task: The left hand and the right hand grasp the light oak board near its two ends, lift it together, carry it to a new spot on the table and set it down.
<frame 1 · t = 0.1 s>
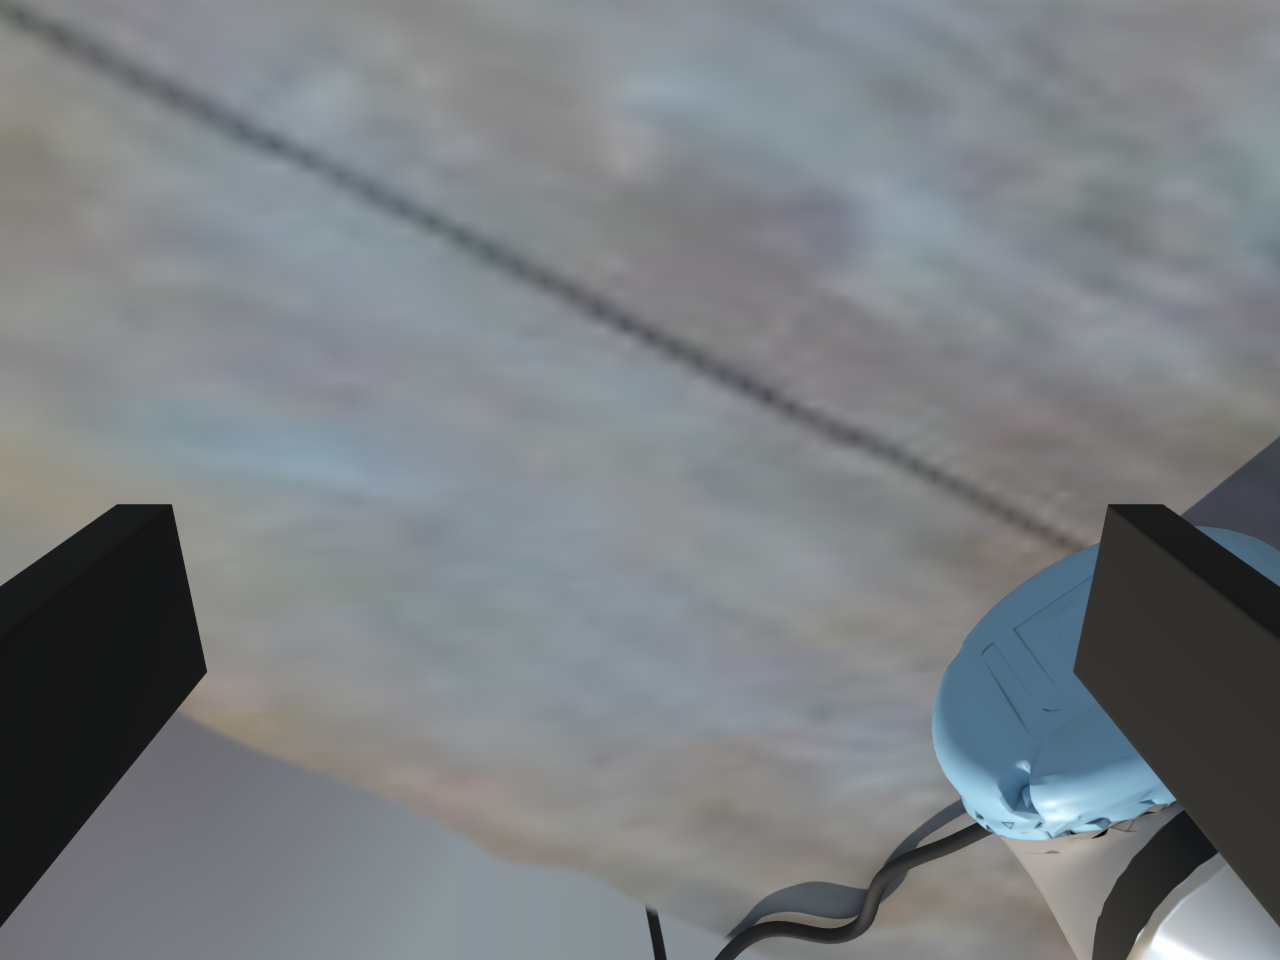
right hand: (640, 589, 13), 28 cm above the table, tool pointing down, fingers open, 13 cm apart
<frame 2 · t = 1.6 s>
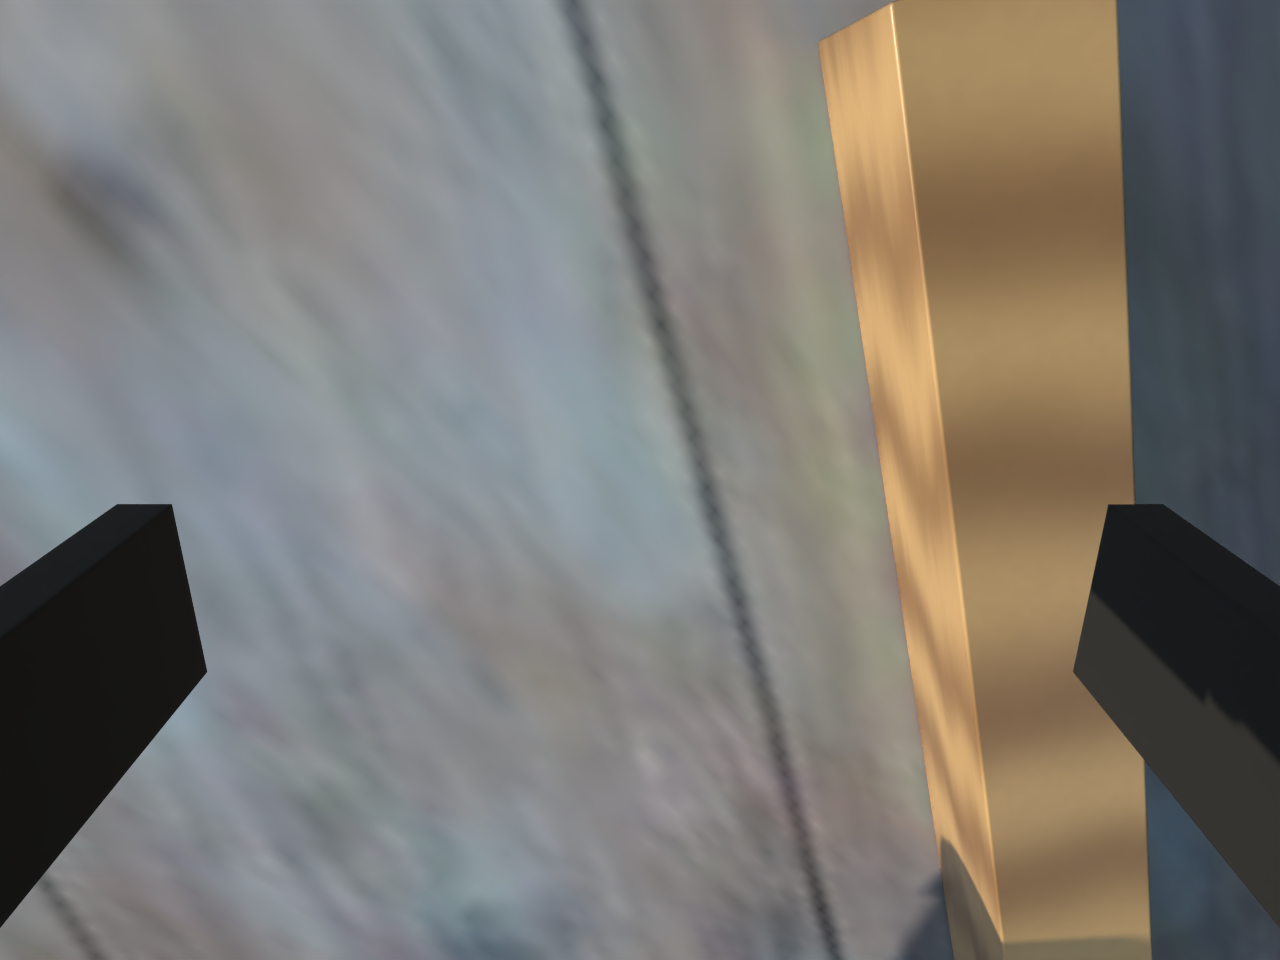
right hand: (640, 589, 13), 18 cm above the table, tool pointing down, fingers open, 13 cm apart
board: (994, 846, 38), on the table
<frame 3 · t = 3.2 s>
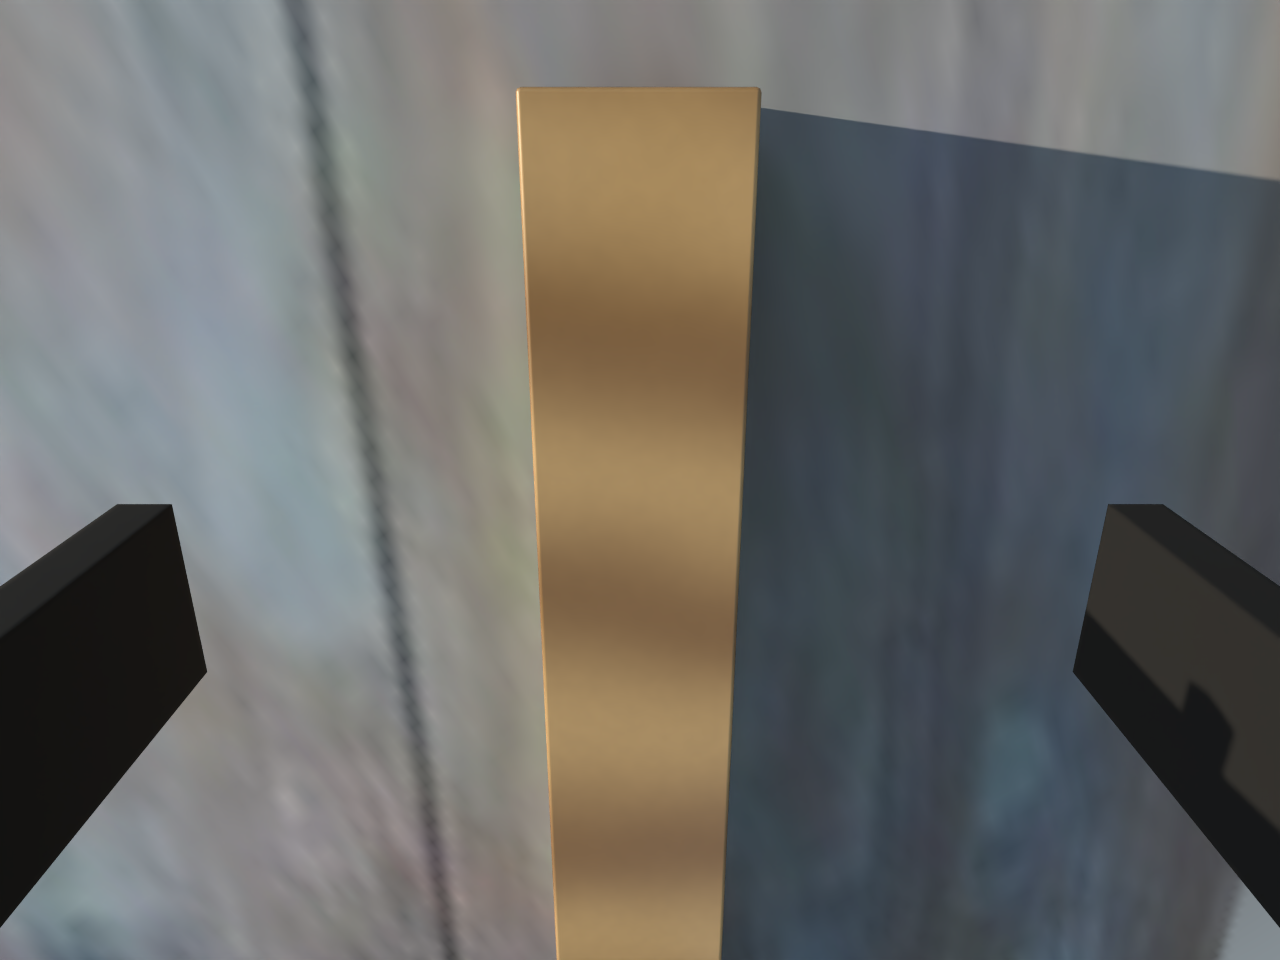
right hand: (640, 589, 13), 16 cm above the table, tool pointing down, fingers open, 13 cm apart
board: (639, 953, 36), on the table, touching left hand
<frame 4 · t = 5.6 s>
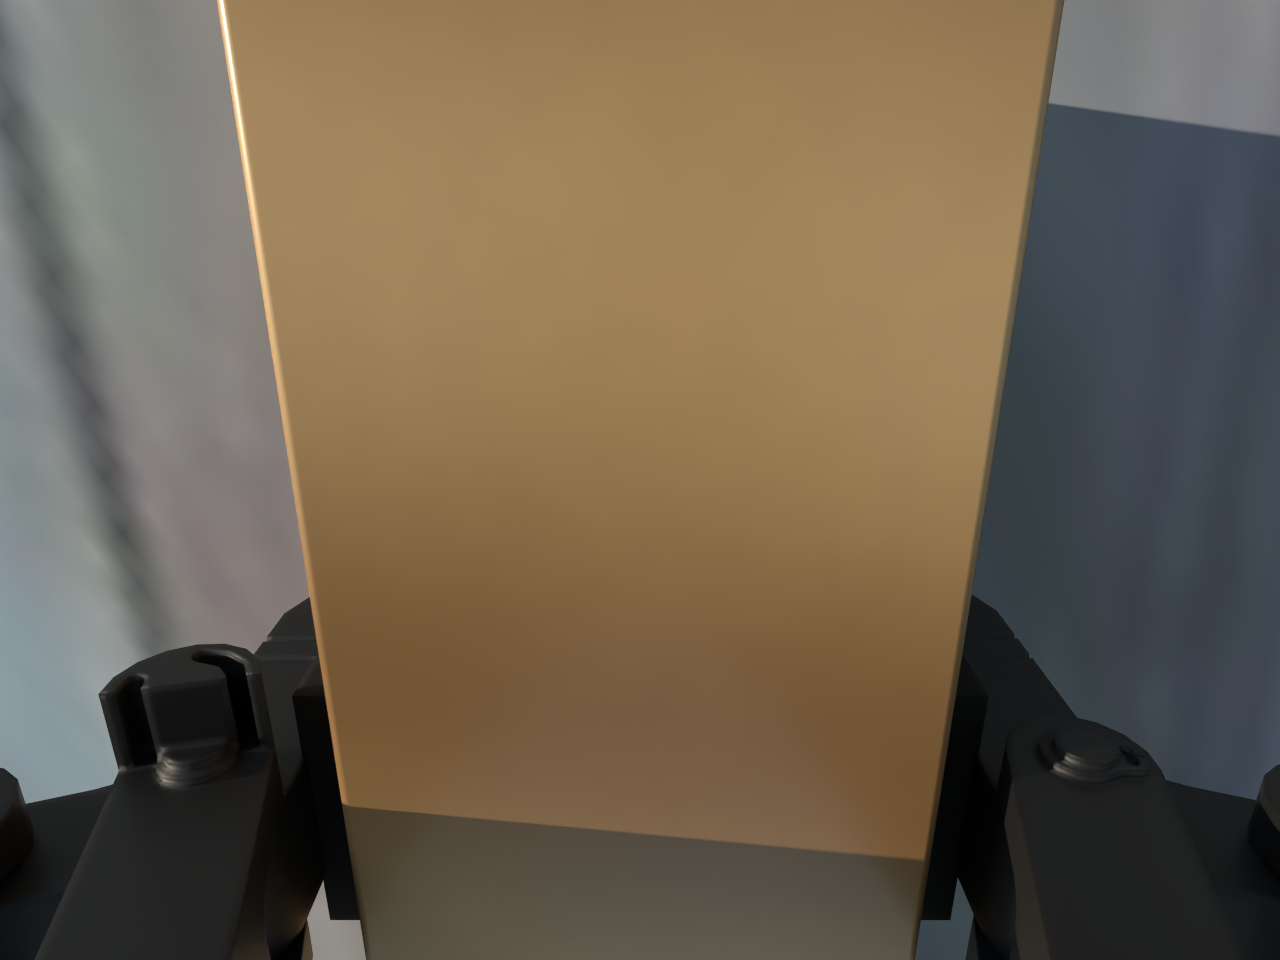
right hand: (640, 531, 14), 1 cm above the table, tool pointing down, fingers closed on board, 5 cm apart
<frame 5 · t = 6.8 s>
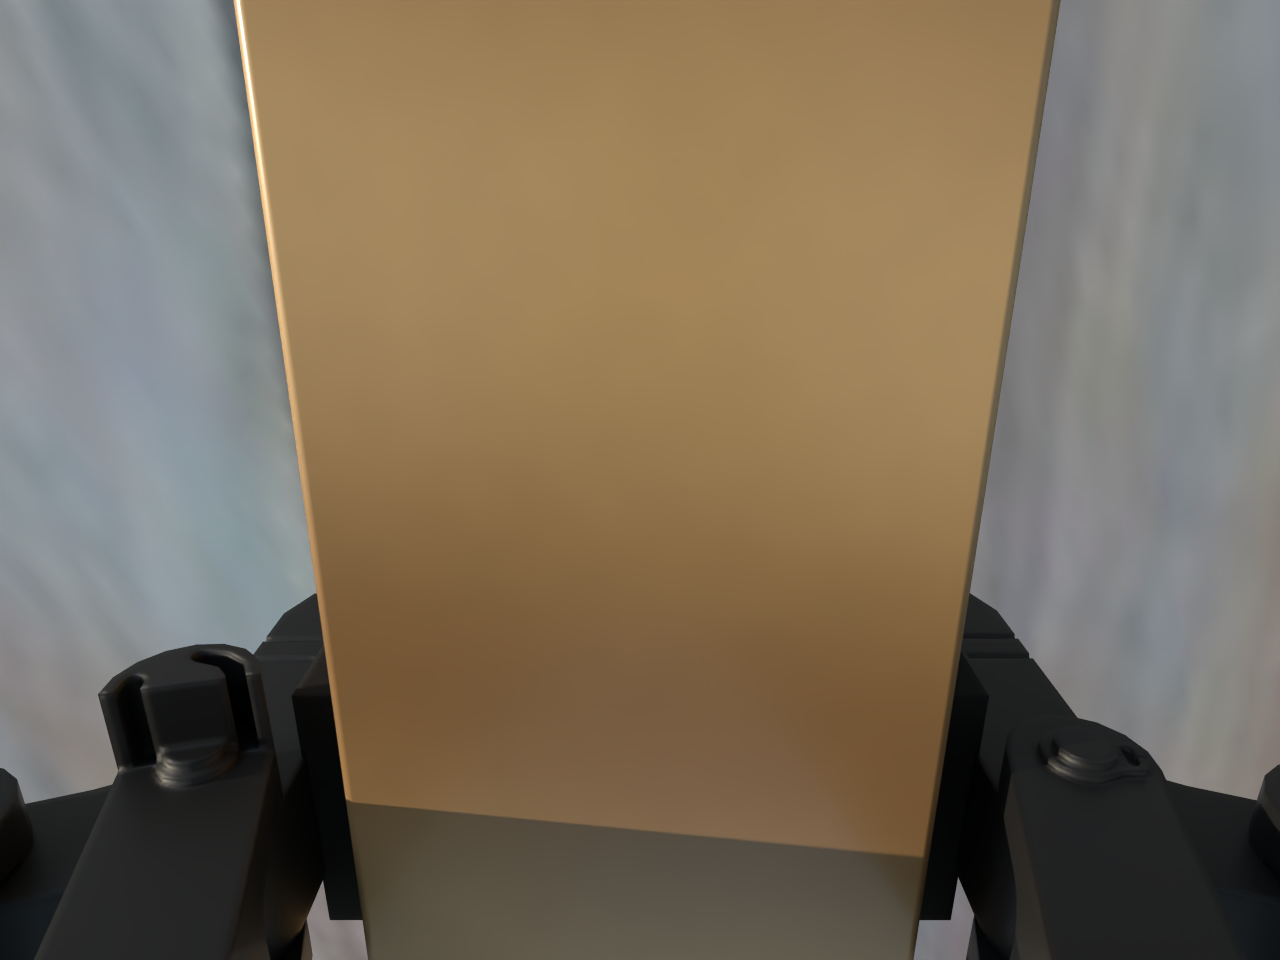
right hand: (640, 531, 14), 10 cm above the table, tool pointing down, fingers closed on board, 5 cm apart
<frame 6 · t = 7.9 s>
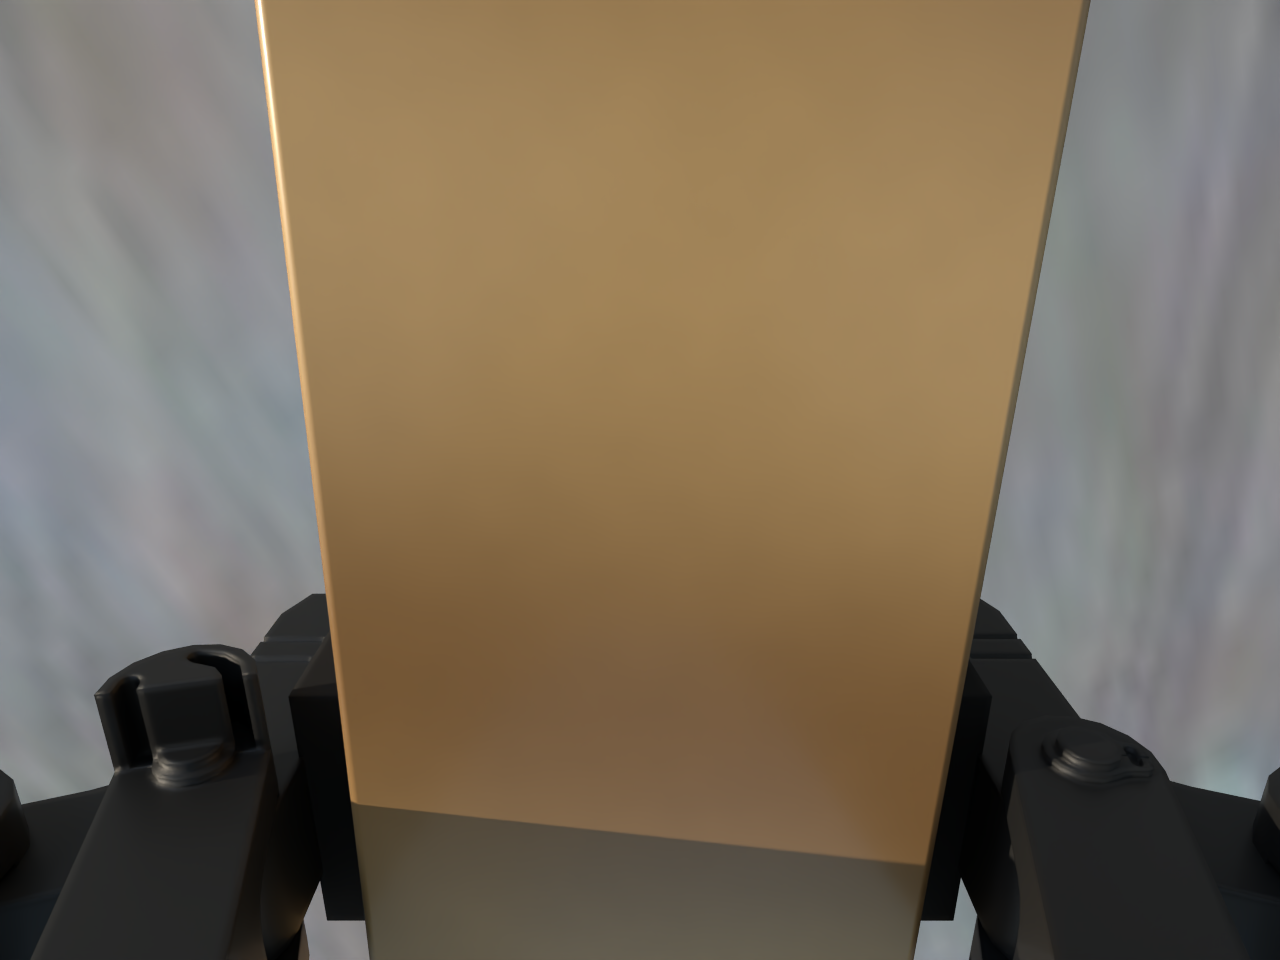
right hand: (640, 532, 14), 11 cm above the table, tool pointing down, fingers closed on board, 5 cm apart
when the left hand's fingers open (2 cm above the table, at t = 10.4 s): board drops 1 cm, on the table.
when the right hand's fingers open (2 cm above the table, at t = 10.4 s): board drops 1 cm, on the table.
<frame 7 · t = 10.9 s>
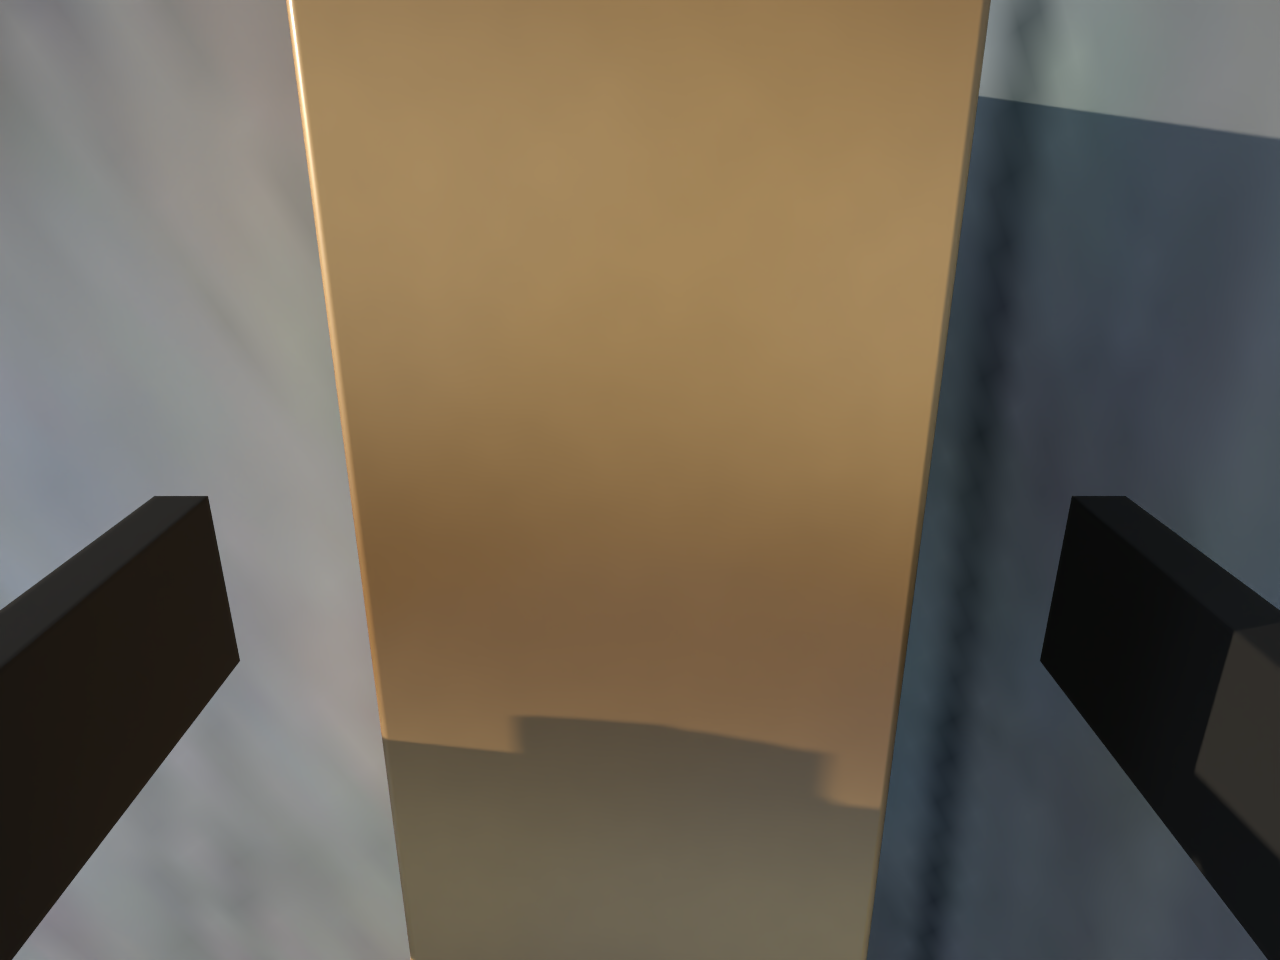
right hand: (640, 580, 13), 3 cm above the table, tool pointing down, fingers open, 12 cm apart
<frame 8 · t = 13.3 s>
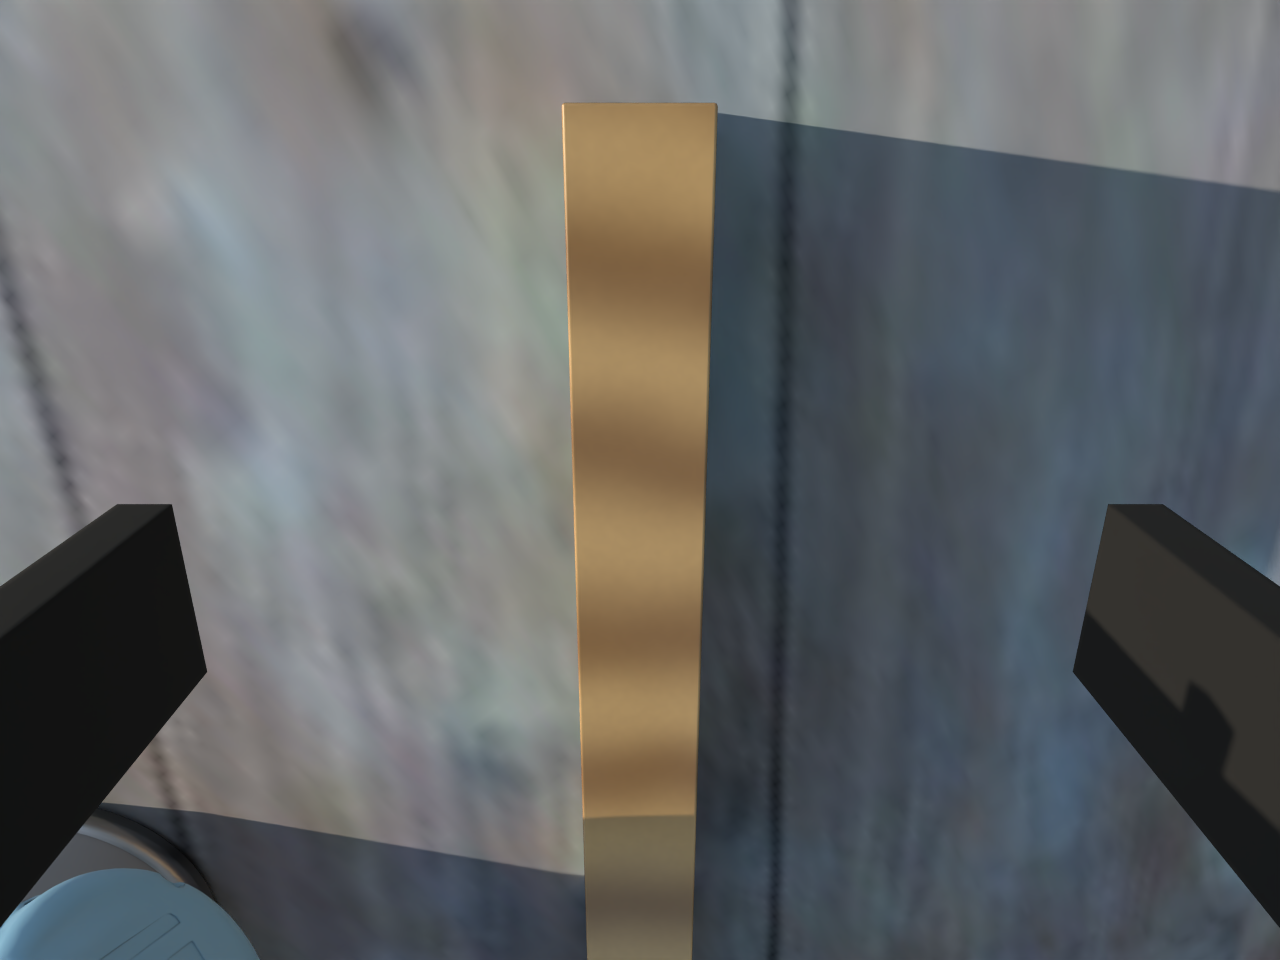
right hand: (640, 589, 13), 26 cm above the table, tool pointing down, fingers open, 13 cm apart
board: (639, 777, 46), on the table
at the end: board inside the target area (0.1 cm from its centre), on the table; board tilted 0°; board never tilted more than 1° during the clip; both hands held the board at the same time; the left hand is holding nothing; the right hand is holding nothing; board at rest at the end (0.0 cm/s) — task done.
